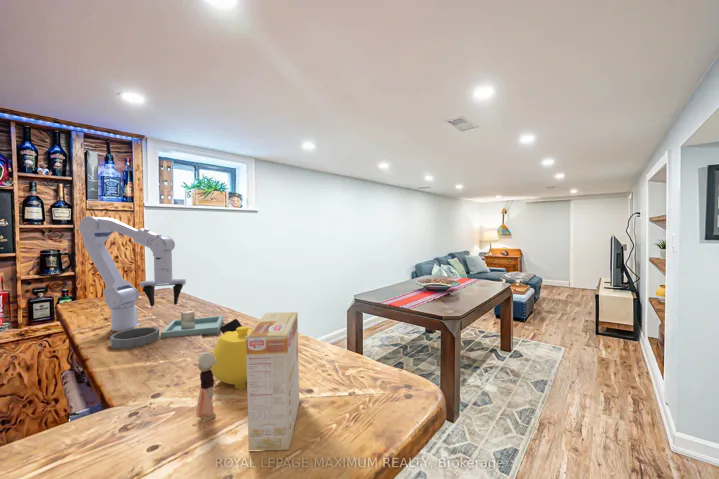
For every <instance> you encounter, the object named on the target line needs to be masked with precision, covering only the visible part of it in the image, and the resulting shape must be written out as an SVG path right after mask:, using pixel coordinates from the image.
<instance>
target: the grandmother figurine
mask: <svg viewBox="0 0 719 479" xmlns="http://www.w3.org/2000/svg"><path fill="white" fill-rule="evenodd" d="M212 354H213V353H210V352H202V353H200V354H199V356H198V365H197V366H198V370H199V371H200V374H199V379H200V388H199V395H198V400H197V405H196V415H195V416H196V417H197V418H200V419H201V421H207V420H209V421H211V420H213V419H212V418H214V417H215V416H216V417H217V414H216V413H215V412H214V405H213V397H214V386H215V379H214V375H213V373H212V371H211V368H212V366H213V365H215V364H216V363H217V360H216V358H215V357H214V356H213V355H212ZM216 417H215V418H216ZM215 418H214V419H215ZM210 419H211V420H210ZM201 421H200V422H201ZM207 422H208V421H207Z"/></svg>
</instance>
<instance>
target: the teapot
mask: <svg viewBox="0 0 719 479" xmlns="http://www.w3.org/2000/svg"><path fill="white" fill-rule="evenodd" d="M252 329H253V328H250V327H249V326H247V325H246V326H243V325H242V327H238V328H237V329H236V330H237V331H233V332H231V331H228V332H225V333H224V334H223V333H222V335H220V337H218V339H217V341H216V343H215V346H214V349H213V352H212V353H211V354H212V355H213V356H214V357H215V358H216V360H217V363H216V364H215V365H213V366H212V368H211V369H210V370H211V371H212V374H213V377H215V378H216V379H217V380H218V381H219V382H220V383H225V384H228V385H234V386H233V387H234V390H243V389H244V388H246V387H247V365H246V339H245V337H246V336H247V335H248V334H249V333H250V331H251V330H252Z"/></svg>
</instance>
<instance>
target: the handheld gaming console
mask: <svg viewBox="0 0 719 479" xmlns="http://www.w3.org/2000/svg"><path fill="white" fill-rule="evenodd" d="M242 326H243V325H242V324H241V323H240V322H239V320H238V318H234V319H232V320H231V321H229V322H228V323H226V324H224V325H222V326H221V328H220V332H221V333H222V335H223V334H224V333H225V332H228V331H231V332H233V331H237V330H236V329H237V328H238V327H242Z"/></svg>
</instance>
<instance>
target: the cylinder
mask: <svg viewBox="0 0 719 479" xmlns="http://www.w3.org/2000/svg"><path fill="white" fill-rule="evenodd" d="M195 318H196V316H195V311H193V310H190V311H189V310H188V311H183V312H181V313H180V320H181V330H185V329H194V328H195Z"/></svg>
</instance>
